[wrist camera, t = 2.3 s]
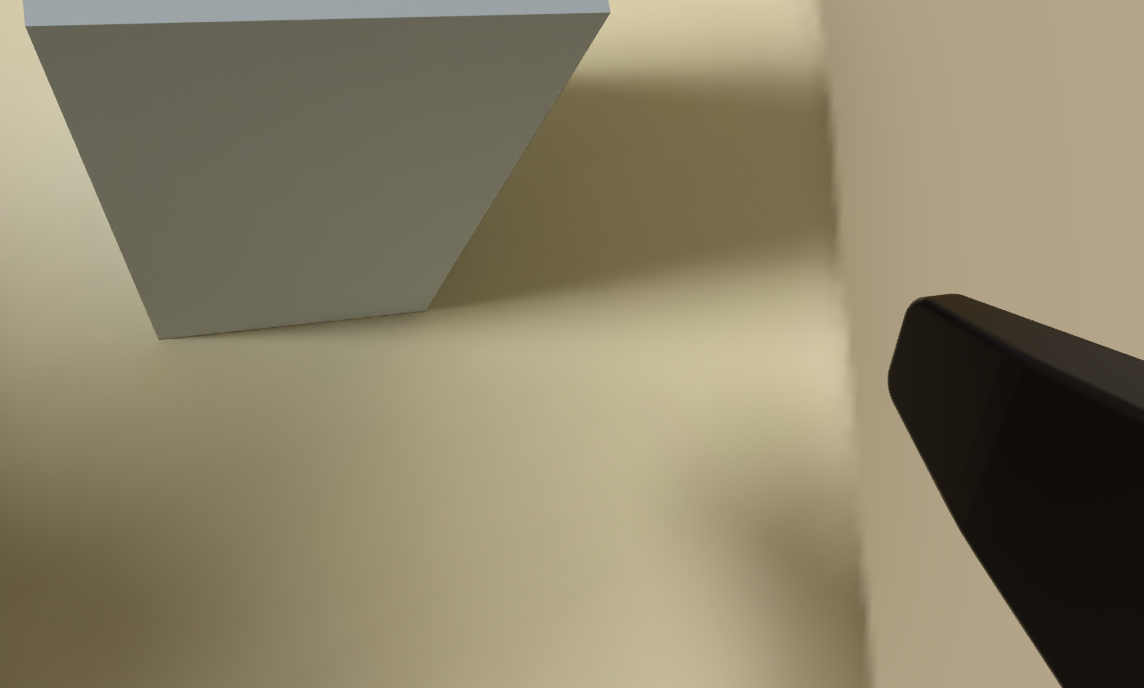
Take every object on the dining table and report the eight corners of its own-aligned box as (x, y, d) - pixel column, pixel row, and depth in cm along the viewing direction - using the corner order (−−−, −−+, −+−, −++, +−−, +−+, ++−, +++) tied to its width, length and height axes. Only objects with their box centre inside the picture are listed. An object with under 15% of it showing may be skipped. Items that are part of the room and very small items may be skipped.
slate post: (425, 310, 21) (610, 12, 10) (158, 339, 20) (26, 26, 9) (389, 76, 22) (524, -441, 11) (131, 87, 21) (-24, -501, 9)
